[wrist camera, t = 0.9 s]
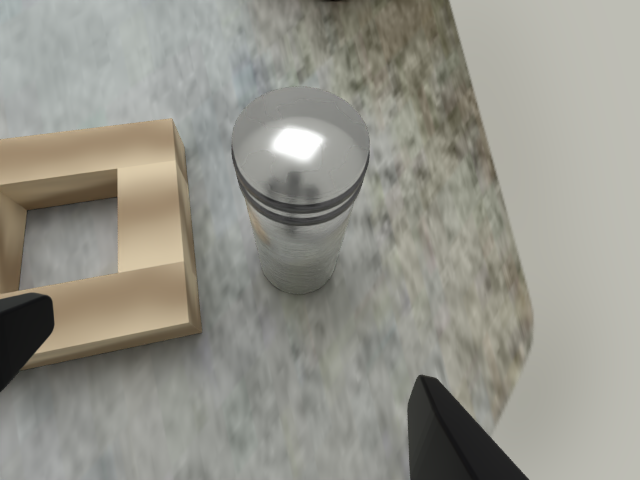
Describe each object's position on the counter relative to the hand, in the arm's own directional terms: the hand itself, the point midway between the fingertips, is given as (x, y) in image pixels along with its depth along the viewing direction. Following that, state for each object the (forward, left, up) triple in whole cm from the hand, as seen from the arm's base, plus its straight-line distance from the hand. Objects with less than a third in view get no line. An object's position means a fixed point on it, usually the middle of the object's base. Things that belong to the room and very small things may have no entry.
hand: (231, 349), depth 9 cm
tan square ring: (+13, +7, -13) cm, 20 cm away
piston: (+6, -5, -13) cm, 15 cm away
